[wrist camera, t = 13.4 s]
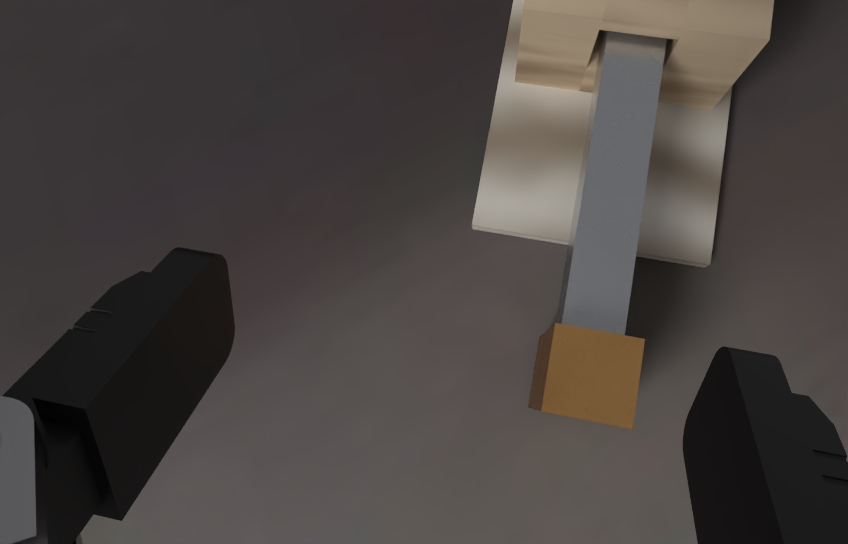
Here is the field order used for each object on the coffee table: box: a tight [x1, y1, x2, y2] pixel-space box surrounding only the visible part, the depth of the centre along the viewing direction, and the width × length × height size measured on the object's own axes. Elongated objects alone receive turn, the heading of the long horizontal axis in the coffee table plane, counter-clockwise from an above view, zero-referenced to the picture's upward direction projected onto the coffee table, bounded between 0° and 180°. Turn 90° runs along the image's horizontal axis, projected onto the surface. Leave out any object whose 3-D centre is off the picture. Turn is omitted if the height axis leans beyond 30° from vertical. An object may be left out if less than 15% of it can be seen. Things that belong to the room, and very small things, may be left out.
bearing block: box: [515, 0, 774, 110], centre depth 37 cm, size 7×12×9 cm, turn 79°
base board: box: [472, 0, 732, 268], centre depth 41 cm, size 24×14×1 cm, turn 169°
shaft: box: [528, 30, 667, 429], centre depth 35 cm, size 23×4×8 cm, turn 169°
